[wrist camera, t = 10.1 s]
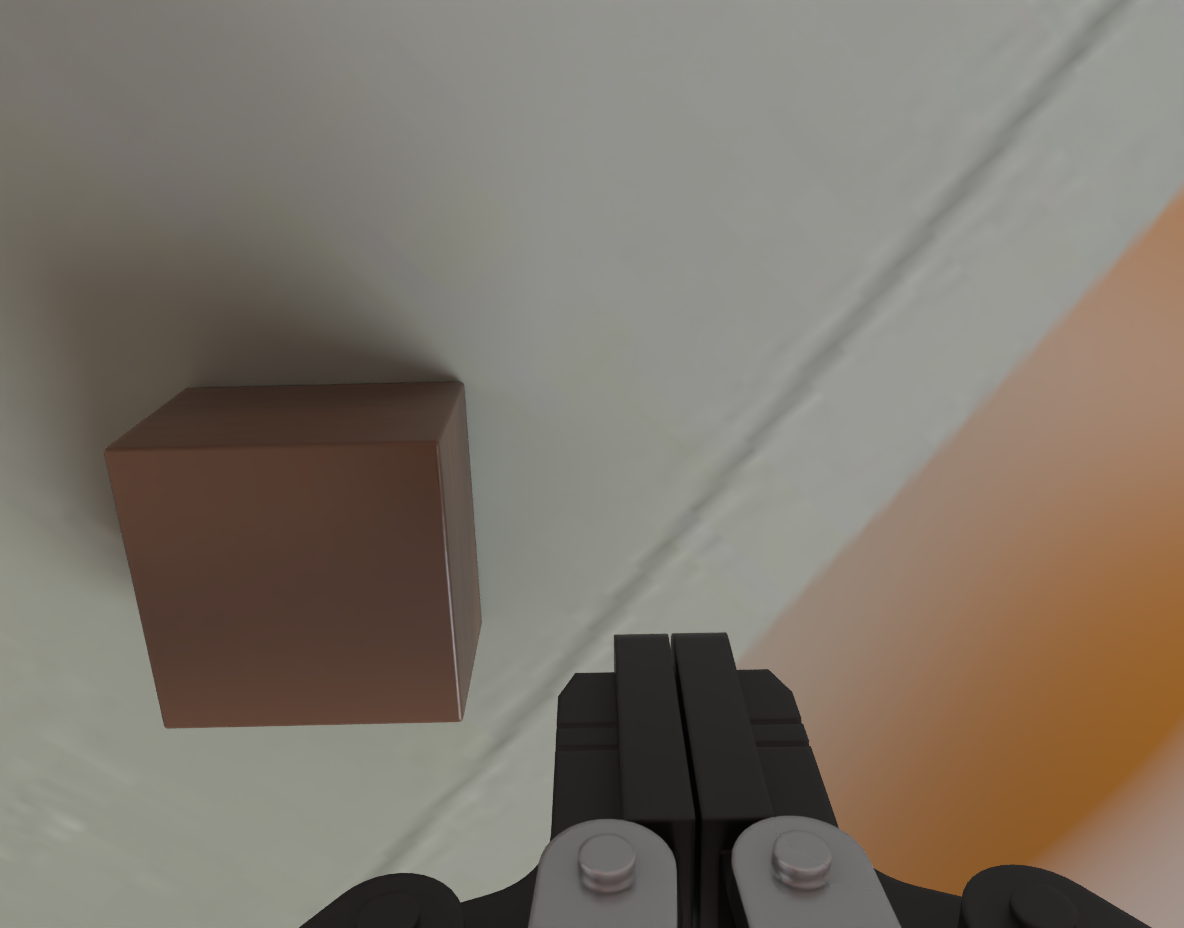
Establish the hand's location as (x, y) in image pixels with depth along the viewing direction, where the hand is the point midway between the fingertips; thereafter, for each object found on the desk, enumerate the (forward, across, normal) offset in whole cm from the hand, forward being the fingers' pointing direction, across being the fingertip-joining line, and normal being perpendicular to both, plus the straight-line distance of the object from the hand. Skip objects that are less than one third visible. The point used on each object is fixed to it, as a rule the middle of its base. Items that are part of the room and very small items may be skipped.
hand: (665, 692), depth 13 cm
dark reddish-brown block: (+6, +6, 0) cm, 8 cm away
